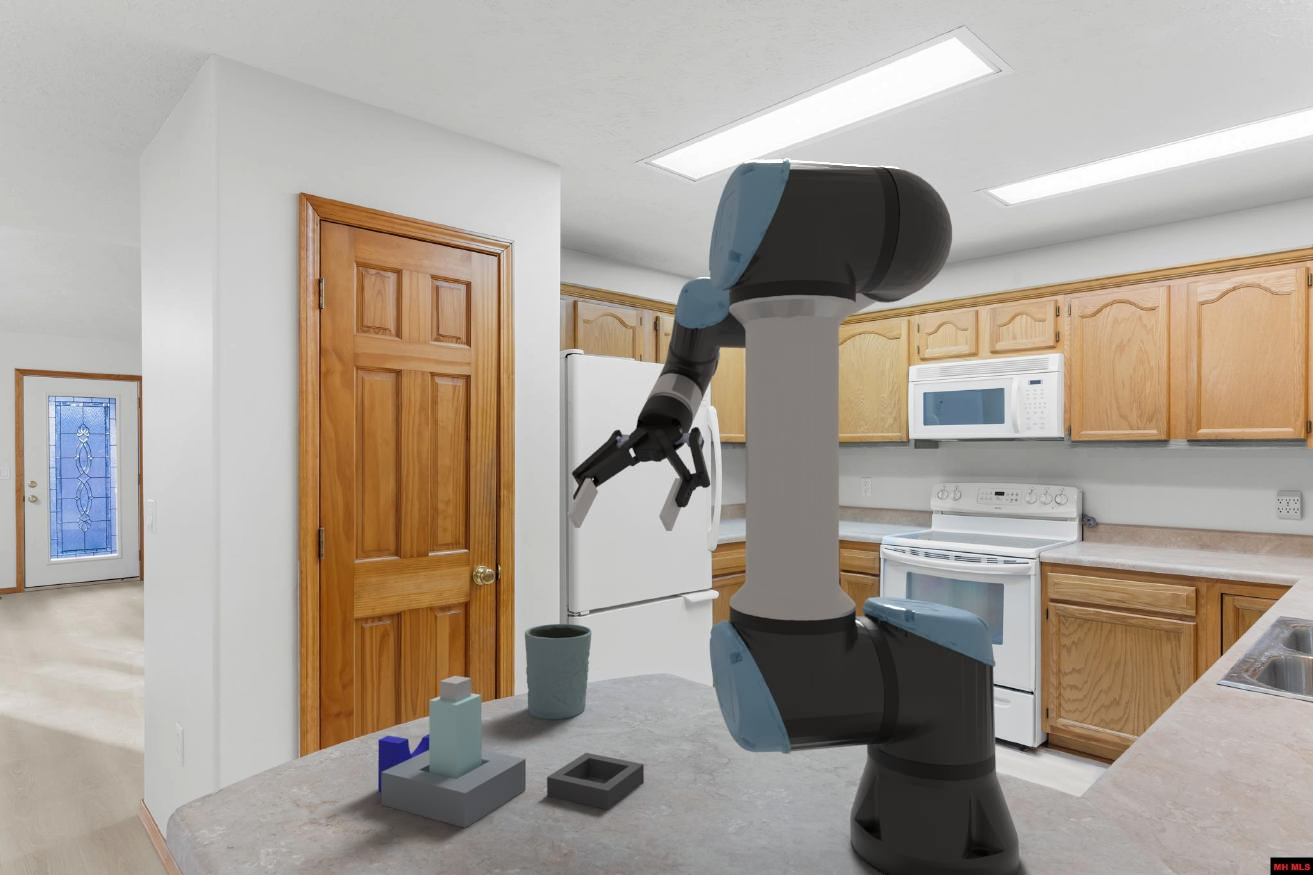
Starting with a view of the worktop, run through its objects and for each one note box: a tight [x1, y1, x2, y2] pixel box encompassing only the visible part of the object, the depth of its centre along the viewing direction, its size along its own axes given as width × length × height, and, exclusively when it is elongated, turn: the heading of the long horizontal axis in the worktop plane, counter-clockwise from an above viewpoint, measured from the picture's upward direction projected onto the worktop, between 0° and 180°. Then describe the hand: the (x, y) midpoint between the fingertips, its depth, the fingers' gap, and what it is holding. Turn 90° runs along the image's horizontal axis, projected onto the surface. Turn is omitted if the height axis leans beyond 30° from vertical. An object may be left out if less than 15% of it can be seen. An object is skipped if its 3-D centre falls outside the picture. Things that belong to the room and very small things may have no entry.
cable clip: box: [377, 733, 429, 793], centre depth 91 cm, size 12×4×6 cm, turn 157°
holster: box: [546, 752, 645, 811], centre depth 86 cm, size 8×8×2 cm
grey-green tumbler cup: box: [524, 623, 593, 720], centre depth 114 cm, size 10×10×12 cm
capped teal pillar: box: [428, 675, 483, 779], centre depth 84 cm, size 4×4×13 cm
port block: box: [380, 749, 527, 829], centre depth 84 cm, size 12×10×4 cm
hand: (617, 522), depth 95 cm, fingers open, 13 cm apart
